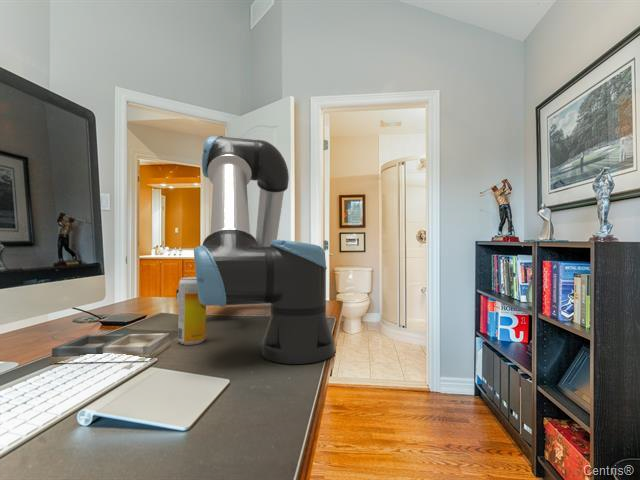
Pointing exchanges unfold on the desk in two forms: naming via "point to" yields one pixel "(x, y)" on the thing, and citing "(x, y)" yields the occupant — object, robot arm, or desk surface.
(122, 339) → the socket board
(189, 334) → the beer can
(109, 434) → the desk surface
